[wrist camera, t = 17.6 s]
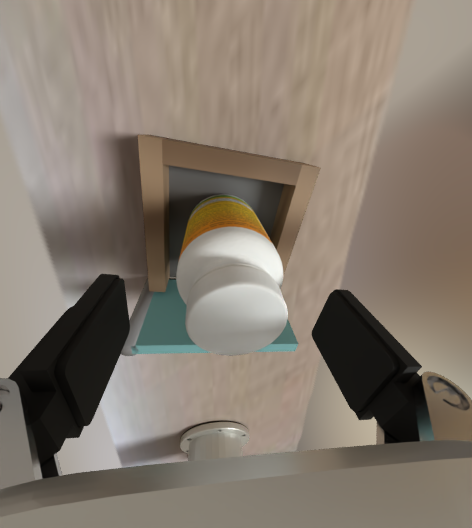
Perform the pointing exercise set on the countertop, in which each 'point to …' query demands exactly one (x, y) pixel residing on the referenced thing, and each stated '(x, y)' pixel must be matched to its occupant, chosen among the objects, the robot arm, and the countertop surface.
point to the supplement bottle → (230, 279)
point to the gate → (175, 326)
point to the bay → (214, 183)
